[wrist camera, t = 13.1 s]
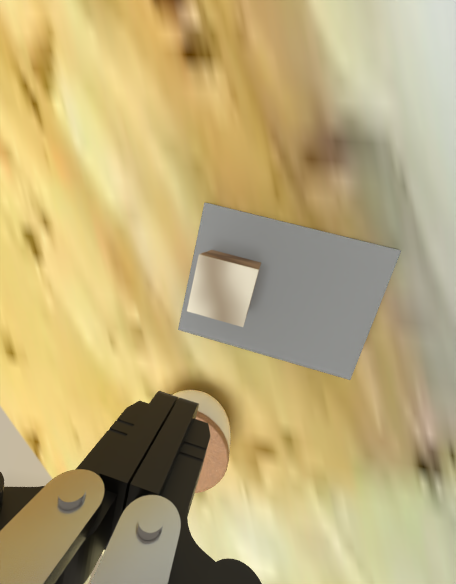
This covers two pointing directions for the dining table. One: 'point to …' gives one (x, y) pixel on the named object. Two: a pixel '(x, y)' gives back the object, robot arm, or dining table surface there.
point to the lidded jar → (211, 437)
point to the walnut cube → (223, 287)
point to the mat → (296, 290)
